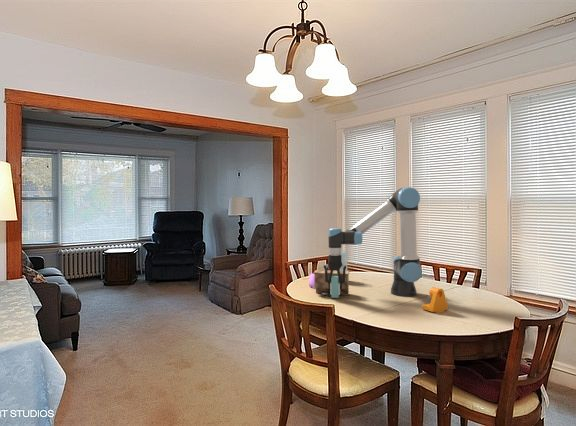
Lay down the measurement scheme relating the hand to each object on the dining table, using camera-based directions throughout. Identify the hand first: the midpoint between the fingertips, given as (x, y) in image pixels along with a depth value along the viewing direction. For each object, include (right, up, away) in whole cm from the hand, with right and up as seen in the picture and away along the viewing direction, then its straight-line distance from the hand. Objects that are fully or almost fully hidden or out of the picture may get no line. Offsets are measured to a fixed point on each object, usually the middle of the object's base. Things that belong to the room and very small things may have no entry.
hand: (335, 294), depth 219 cm
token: (-5, -2, +9) cm, 10 cm away
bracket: (+48, -3, -26) cm, 55 cm away
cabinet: (-1, -2, +10) cm, 10 cm away
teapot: (-7, -2, +28) cm, 29 cm away
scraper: (+1, -2, +3) cm, 4 cm away
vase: (+9, -1, +47) cm, 48 cm away
